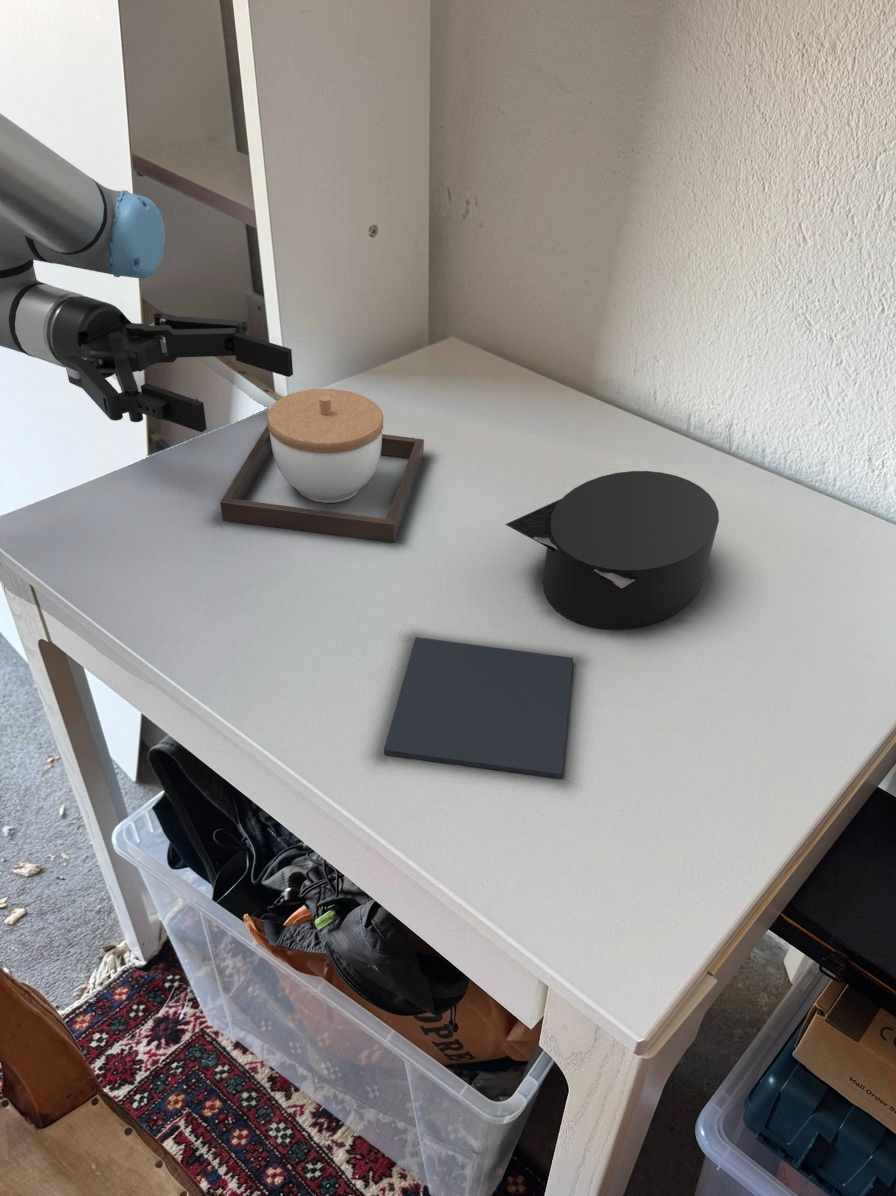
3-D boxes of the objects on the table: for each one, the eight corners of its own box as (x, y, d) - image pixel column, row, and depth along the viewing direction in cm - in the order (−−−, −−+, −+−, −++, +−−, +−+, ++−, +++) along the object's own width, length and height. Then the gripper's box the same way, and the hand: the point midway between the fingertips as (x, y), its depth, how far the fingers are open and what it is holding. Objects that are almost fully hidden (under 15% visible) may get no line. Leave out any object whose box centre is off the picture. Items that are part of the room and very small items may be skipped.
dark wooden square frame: (222, 520, 94) (220, 501, 92) (271, 436, 106) (270, 419, 104) (393, 542, 93) (393, 524, 92) (423, 456, 105) (424, 439, 104)
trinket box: (405, 484, 101) (407, 397, 94) (331, 529, 94) (327, 439, 88) (326, 447, 105) (322, 361, 99) (249, 487, 98) (240, 398, 92)
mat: (383, 754, 73) (383, 749, 73) (415, 641, 83) (415, 636, 83) (561, 778, 73) (562, 774, 73) (572, 662, 83) (573, 657, 82)
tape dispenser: (736, 579, 95) (756, 509, 90) (622, 653, 84) (638, 577, 79) (614, 518, 102) (627, 450, 97) (494, 579, 91) (502, 505, 86)
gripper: (164, 327, 114) (323, 377, 108) (-11, 415, 97) (166, 480, 91) (154, 259, 109) (320, 308, 103) (-33, 340, 92) (153, 404, 86)
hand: (248, 389), depth 97 cm, fingers open, 13 cm apart
